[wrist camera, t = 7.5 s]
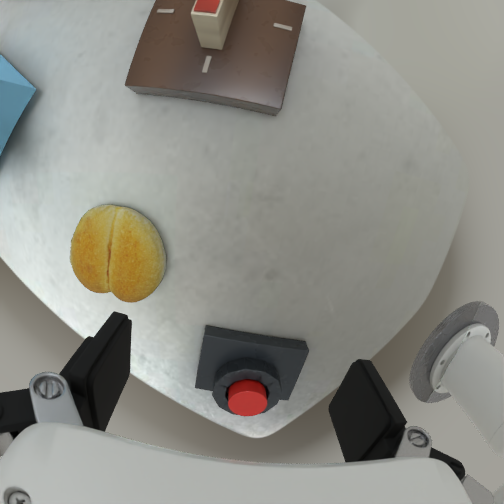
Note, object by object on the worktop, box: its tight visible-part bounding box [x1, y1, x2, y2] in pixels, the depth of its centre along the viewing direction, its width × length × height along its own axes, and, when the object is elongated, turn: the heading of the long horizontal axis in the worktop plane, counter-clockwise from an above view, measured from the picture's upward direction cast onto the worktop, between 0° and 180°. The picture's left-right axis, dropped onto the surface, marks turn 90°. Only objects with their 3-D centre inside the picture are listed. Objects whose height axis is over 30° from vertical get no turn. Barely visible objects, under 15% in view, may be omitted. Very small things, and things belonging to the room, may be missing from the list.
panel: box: [125, 0, 306, 116], centre depth 18 cm, size 12×12×3 cm
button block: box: [195, 325, 309, 415], centre depth 27 cm, size 10×8×4 cm
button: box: [228, 379, 267, 416], centre depth 25 cm, size 4×4×2 cm
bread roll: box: [70, 205, 166, 302], centre depth 22 cm, size 8×9×4 cm
